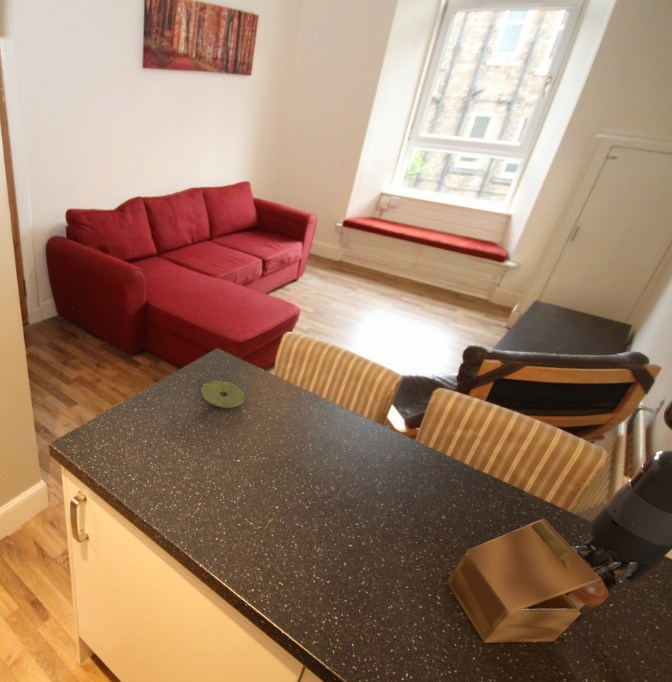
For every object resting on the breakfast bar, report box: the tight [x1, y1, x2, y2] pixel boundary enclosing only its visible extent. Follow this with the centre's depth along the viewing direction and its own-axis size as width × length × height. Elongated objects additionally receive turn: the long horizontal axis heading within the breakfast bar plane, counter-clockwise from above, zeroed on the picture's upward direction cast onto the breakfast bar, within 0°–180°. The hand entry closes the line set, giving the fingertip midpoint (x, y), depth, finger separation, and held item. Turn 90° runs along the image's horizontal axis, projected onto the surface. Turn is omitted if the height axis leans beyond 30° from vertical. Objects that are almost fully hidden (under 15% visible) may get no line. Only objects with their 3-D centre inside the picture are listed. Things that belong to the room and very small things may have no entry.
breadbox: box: [445, 553, 582, 644], centre depth 69 cm, size 11×9×8 cm
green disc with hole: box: [200, 380, 246, 409], centre depth 113 cm, size 11×11×2 cm
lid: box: [465, 518, 601, 613], centre depth 64 cm, size 12×9×5 cm
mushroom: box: [568, 576, 610, 611], centre depth 69 cm, size 6×6×7 cm
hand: (575, 590), depth 70 cm, fingers closed on mushroom, 5 cm apart
